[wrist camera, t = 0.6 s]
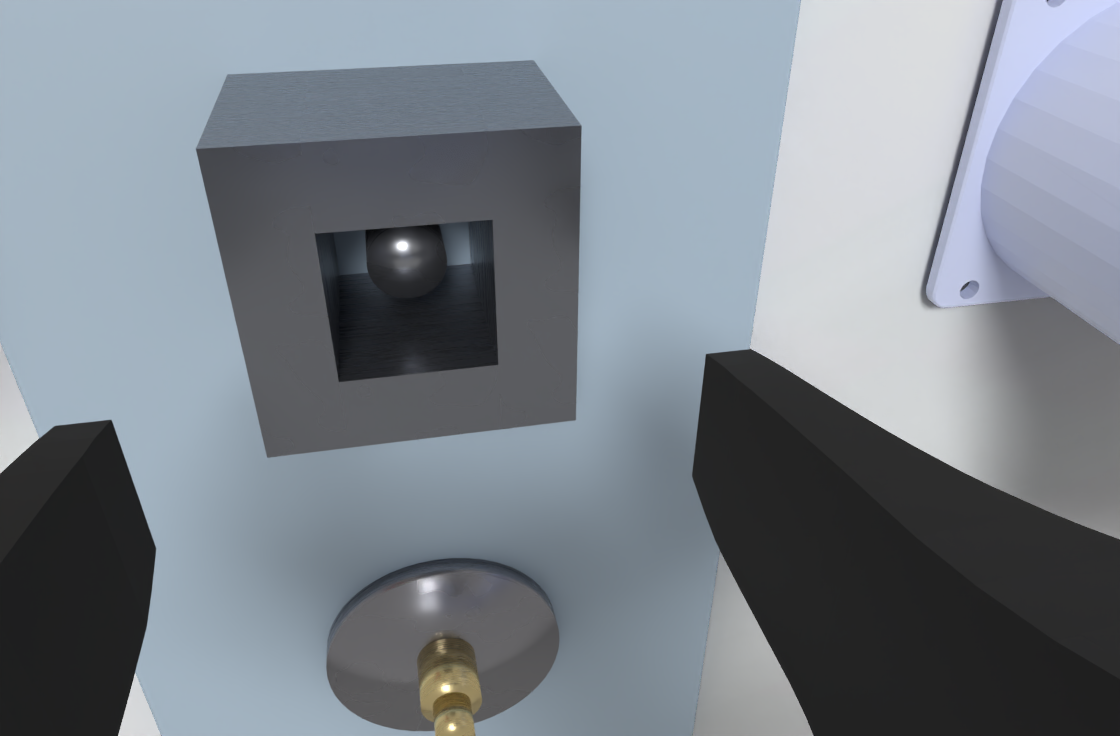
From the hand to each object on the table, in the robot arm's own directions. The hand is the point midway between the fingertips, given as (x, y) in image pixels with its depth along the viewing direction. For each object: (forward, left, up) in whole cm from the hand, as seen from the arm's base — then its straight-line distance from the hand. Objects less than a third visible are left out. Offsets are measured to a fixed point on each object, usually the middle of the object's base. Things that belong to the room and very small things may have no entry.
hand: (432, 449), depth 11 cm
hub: (0, +13, -8) cm, 15 cm away
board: (0, +8, -9) cm, 12 cm away
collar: (0, 0, -8) cm, 8 cm away
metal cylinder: (0, 0, -8) cm, 8 cm away
